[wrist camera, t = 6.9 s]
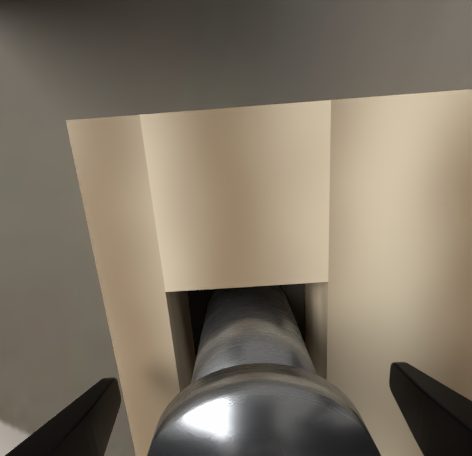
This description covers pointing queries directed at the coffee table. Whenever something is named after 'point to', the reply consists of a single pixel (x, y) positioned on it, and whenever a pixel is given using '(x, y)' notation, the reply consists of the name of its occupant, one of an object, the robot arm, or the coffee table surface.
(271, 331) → the flared metal knob
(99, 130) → the plate
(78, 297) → the coffee table surface
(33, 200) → the coffee table surface
